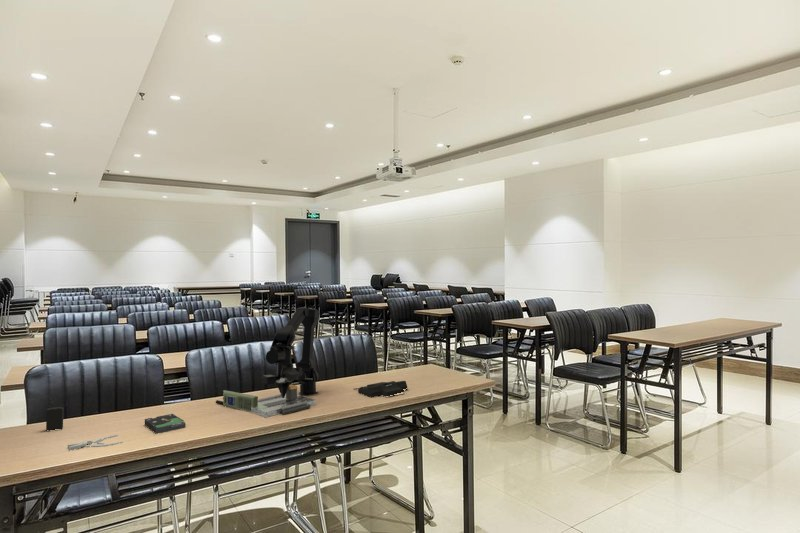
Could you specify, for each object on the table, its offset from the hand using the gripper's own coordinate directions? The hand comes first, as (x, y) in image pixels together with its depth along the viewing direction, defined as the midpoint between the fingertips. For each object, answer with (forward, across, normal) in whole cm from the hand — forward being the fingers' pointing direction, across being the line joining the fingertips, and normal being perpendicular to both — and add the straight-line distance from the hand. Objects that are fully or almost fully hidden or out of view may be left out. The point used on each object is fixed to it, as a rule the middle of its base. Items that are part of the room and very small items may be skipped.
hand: (283, 397), depth 206 cm
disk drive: (+6, -44, +11) cm, 46 cm away
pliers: (+8, -67, +9) cm, 68 cm away
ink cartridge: (+8, -73, +38) cm, 83 cm away
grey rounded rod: (+4, 0, +9) cm, 10 cm away
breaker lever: (+1, +4, 0) cm, 4 cm away
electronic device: (+2, +46, -9) cm, 47 cm away
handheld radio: (+5, -14, +14) cm, 21 cm away
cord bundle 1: (+4, 0, -9) cm, 10 cm away
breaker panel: (+4, -1, 0) cm, 4 cm away
